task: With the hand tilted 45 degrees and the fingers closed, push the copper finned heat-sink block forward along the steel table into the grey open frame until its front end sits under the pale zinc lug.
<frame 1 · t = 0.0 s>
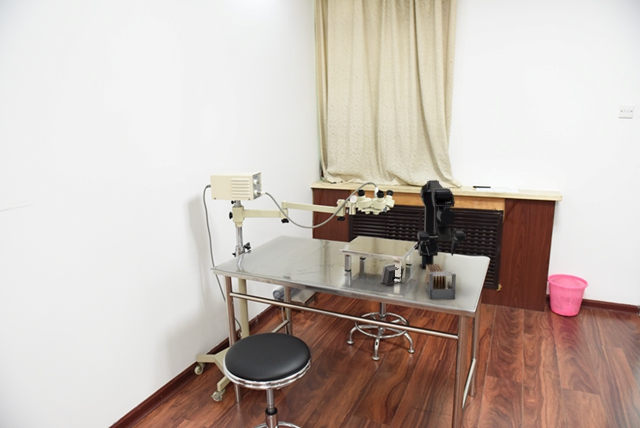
hand: (440, 255, 170), 15 cm above the table, tool pointing down, fingers open, 9 cm apart
grey open frame: (439, 294, 167), on the table
heat-sink block: (435, 287, 175), on the table
electrical switch: (393, 283, 182), on the table
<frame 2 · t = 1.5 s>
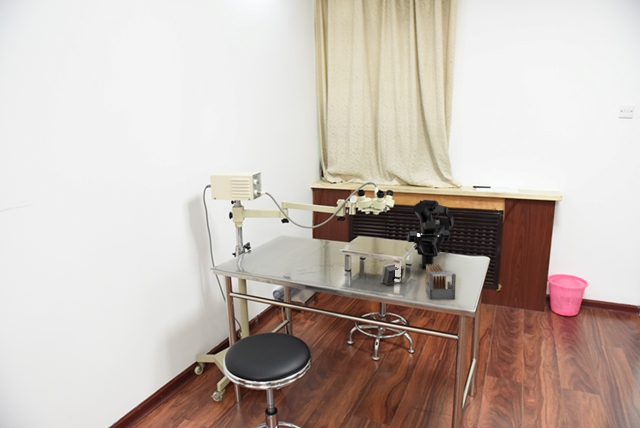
hand: (431, 252, 183), 12 cm above the table, tool tilted 45°, fingers open, 6 cm apart
nothing on the table moved.
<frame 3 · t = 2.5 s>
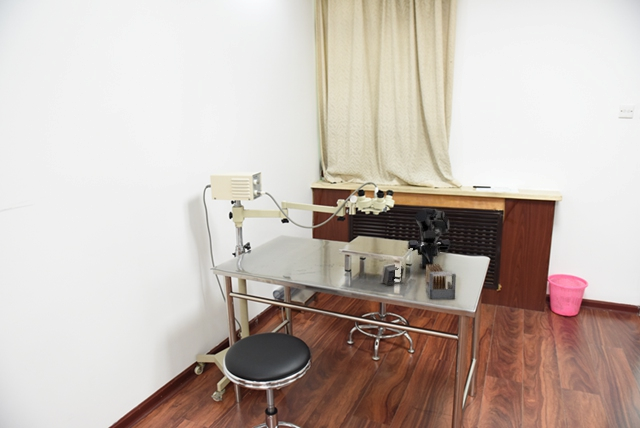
hand: (430, 261, 183), 8 cm above the table, tool tilted 45°, fingers closed
nothing on the table moved.
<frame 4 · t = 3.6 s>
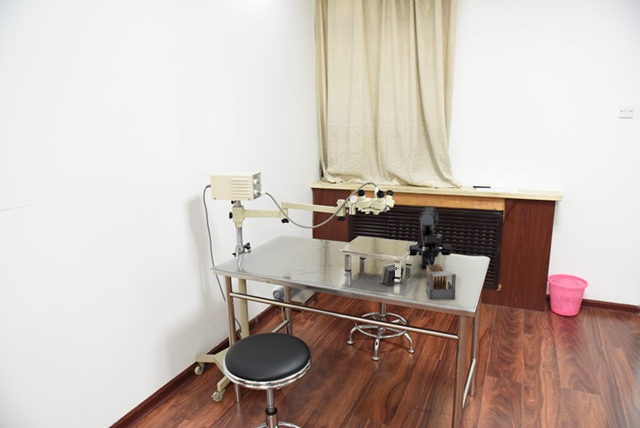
hand: (432, 267, 180), 7 cm above the table, tool tilted 45°, fingers closed, pressing on heat-sink block
heat-sink block: (435, 287, 174), on the table, touching gripper
everything else where it was.
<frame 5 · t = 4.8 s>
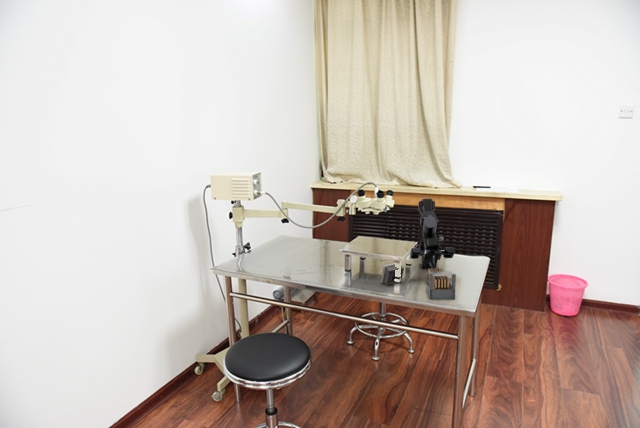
hand: (434, 270, 176), 7 cm above the table, tool tilted 45°, fingers closed
heat-sink block: (438, 291, 170), on the table
everything else where it was.
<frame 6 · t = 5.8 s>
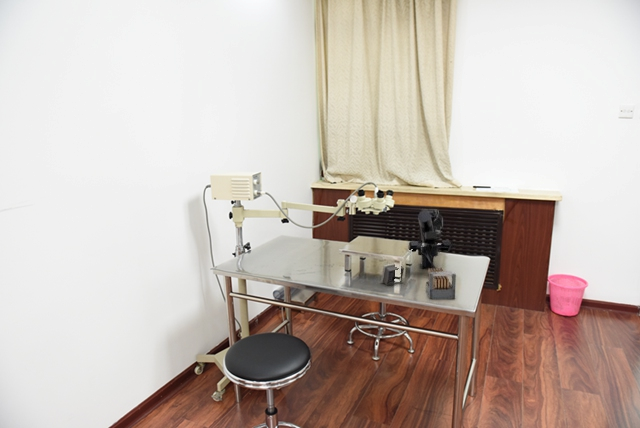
hand: (431, 262, 182), 8 cm above the table, tool tilted 45°, fingers closed
nothing on the table moved.
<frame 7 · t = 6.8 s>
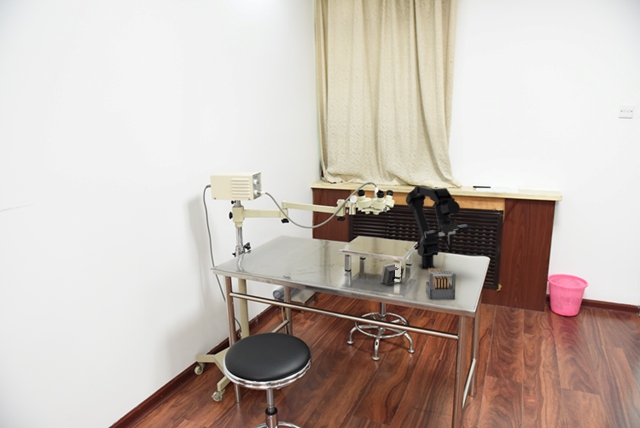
hand: (450, 250, 182), 13 cm above the table, tool tilted 15°, fingers closed
nothing on the table moved.
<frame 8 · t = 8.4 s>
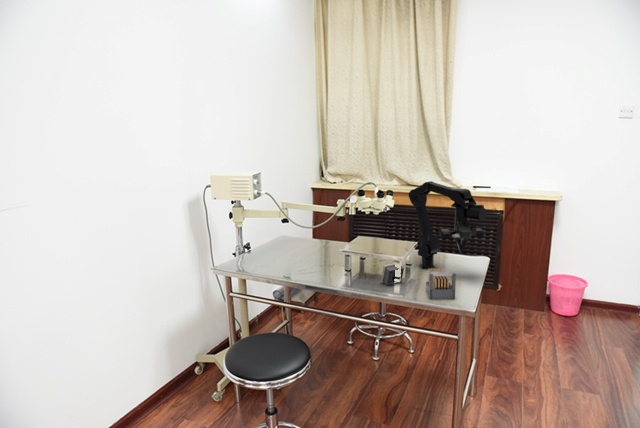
hand: (460, 251, 184), 12 cm above the table, tool pointing down, fingers closed
nothing on the table moved.
at the end: heat-sink block 0.2 cm from the target spot, on the table; heat-sink block tilted 0°; heat-sink block moved 5.1 cm from its start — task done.
